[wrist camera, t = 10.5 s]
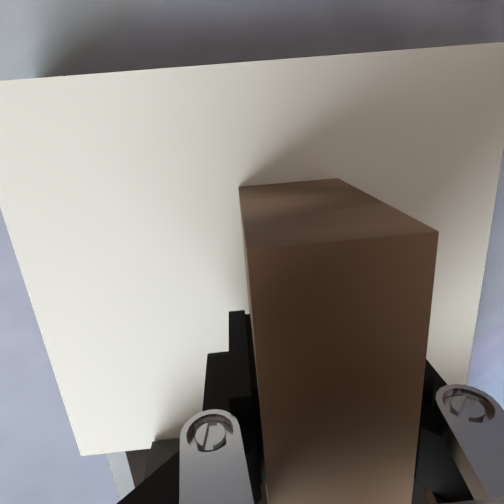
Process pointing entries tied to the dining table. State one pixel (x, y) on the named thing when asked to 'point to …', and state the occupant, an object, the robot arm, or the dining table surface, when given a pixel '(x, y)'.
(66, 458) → the dining table surface
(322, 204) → the scraper
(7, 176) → the board
